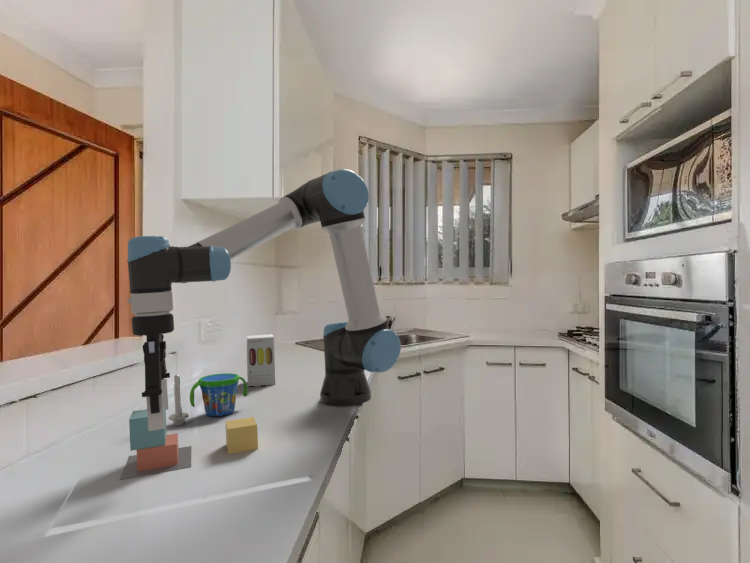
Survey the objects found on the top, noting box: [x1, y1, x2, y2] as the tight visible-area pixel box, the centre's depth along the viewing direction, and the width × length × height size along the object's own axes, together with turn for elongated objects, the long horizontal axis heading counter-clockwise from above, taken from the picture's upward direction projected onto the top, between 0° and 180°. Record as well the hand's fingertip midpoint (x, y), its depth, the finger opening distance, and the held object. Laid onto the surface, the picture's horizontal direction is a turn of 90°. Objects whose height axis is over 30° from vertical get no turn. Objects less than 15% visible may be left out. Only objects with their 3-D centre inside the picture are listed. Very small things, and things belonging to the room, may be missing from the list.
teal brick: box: [128, 407, 168, 452], centre depth 90 cm, size 6×6×6 cm
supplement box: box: [246, 333, 276, 388], centre depth 159 cm, size 10×9×17 cm
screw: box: [168, 374, 190, 427], centre depth 116 cm, size 13×5×5 cm
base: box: [120, 432, 192, 481], centre depth 90 cm, size 12×12×5 cm
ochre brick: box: [225, 416, 259, 455], centre depth 97 cm, size 6×6×6 cm
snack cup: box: [189, 372, 249, 417], centre depth 124 cm, size 16×10×10 cm
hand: (159, 419), depth 90 cm, fingers open, 13 cm apart
